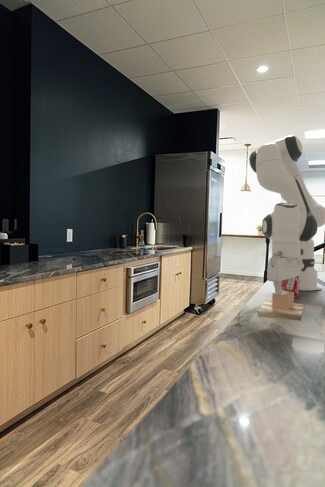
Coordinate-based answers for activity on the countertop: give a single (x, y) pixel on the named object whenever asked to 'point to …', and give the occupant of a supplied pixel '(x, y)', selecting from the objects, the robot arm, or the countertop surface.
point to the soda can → (295, 286)
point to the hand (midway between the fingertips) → (284, 291)
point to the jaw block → (283, 300)
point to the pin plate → (281, 311)
